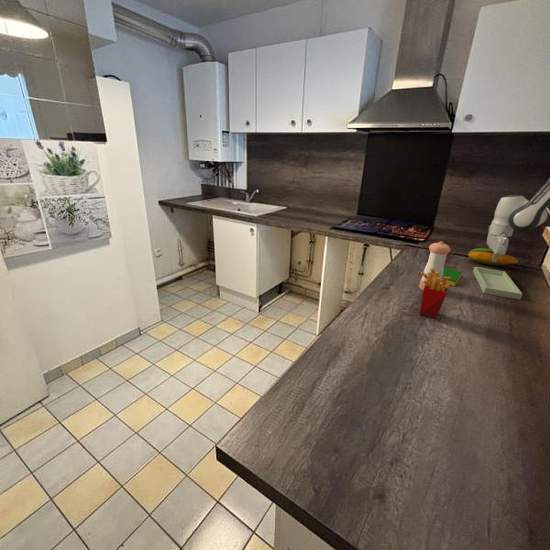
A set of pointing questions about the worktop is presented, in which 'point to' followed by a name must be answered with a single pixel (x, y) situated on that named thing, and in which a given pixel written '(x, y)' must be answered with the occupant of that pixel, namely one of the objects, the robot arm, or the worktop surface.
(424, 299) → the french fries
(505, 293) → the tray
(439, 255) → the pepper shaker
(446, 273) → the dish sponge
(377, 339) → the worktop surface
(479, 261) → the corn
